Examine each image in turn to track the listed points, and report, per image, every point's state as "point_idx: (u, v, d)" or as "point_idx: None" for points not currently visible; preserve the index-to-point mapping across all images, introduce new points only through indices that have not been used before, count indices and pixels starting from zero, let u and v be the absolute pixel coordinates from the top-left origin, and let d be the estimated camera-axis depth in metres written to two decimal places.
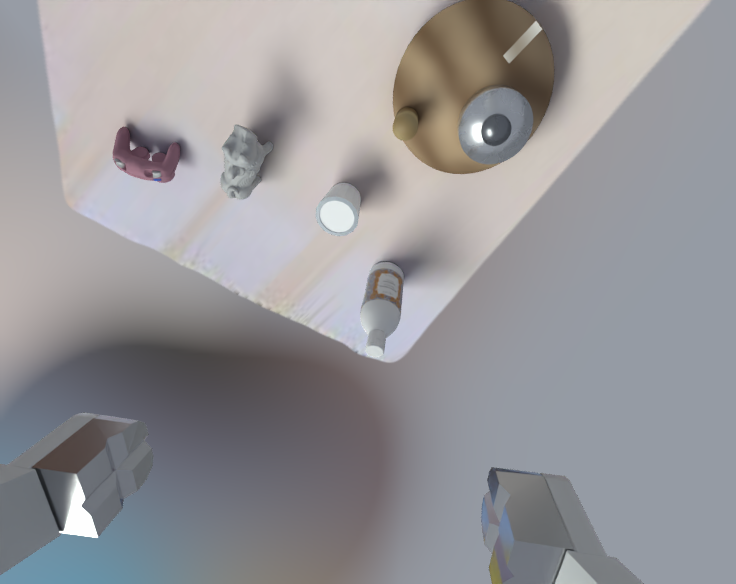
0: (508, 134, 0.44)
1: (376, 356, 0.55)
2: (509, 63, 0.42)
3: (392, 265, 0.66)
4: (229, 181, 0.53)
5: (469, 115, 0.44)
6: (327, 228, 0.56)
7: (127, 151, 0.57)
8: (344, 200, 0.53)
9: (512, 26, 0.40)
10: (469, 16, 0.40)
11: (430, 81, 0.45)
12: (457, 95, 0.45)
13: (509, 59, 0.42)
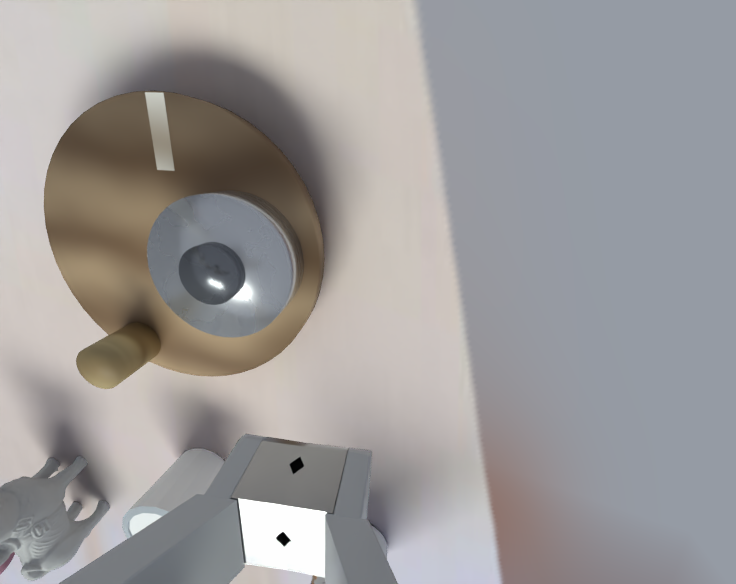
0: (229, 265, 0.20)
1: None
2: (174, 170, 0.22)
3: None
4: (21, 558, 0.34)
5: (163, 283, 0.22)
6: None
7: None
8: (144, 508, 0.29)
9: (128, 127, 0.22)
10: (74, 167, 0.23)
11: (116, 275, 0.26)
12: None
13: (169, 165, 0.22)
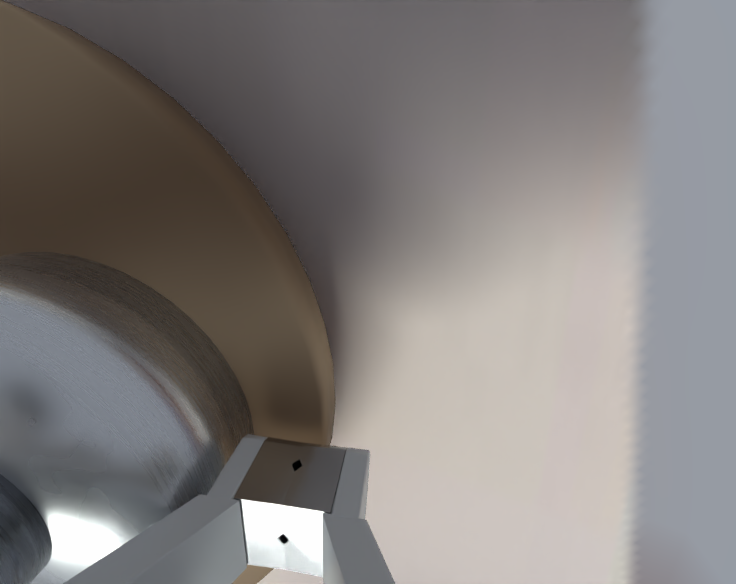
0: None
1: None
2: None
3: None
4: None
5: None
6: None
7: None
8: None
9: None
10: None
11: None
12: None
13: None
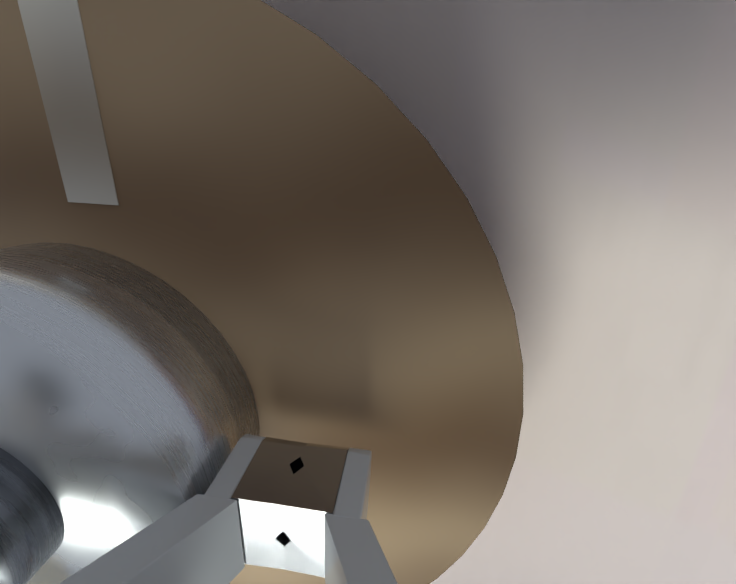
0: None
1: None
2: (118, 204, 0.08)
3: None
4: None
5: None
6: None
7: None
8: None
9: None
10: None
11: None
12: None
13: (101, 191, 0.07)
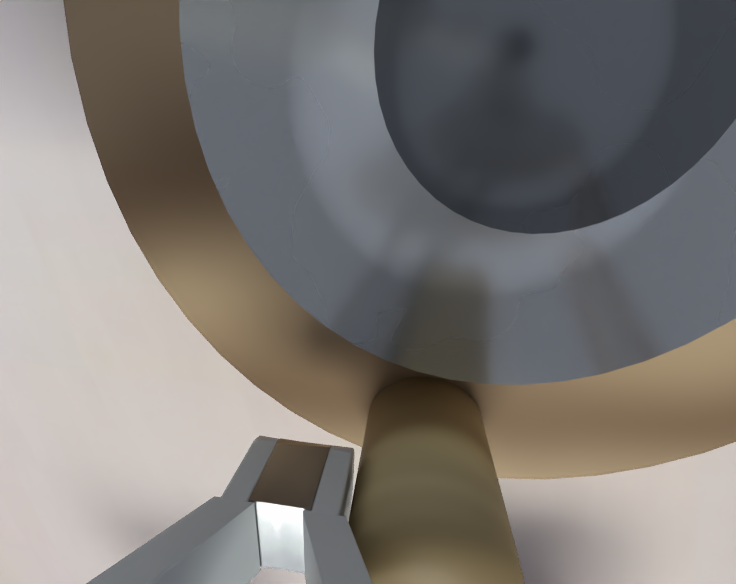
0: None
1: None
2: None
3: None
4: None
5: (285, 231, 0.05)
6: None
7: None
8: None
9: None
10: None
11: None
12: None
13: None
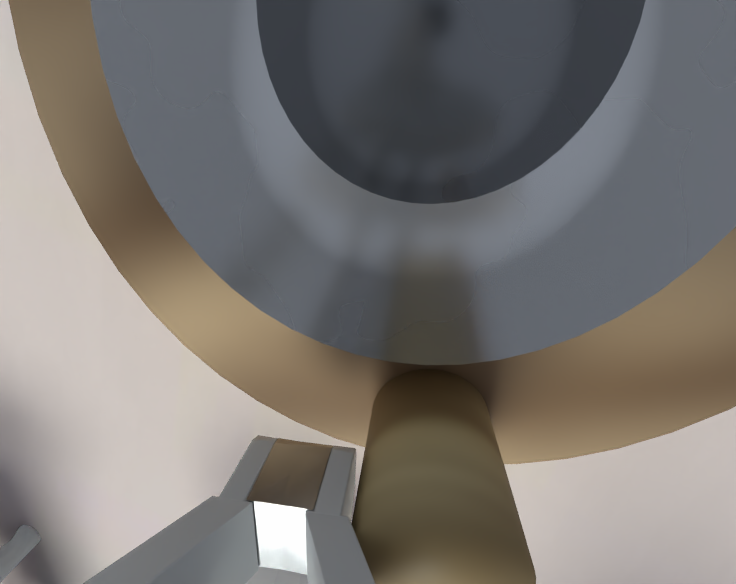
0: None
1: None
2: None
3: None
4: None
5: (235, 241, 0.05)
6: None
7: None
8: None
9: None
10: None
11: None
12: None
13: None
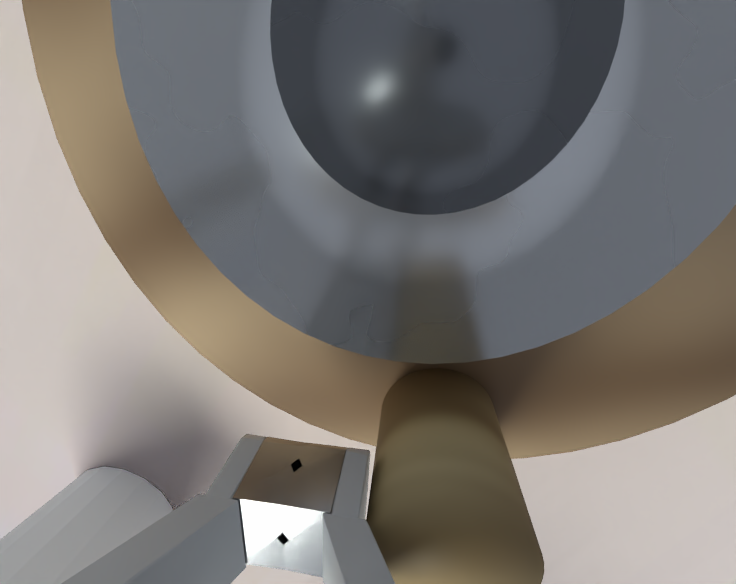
0: None
1: None
2: None
3: None
4: None
5: (250, 253, 0.06)
6: None
7: None
8: None
9: None
10: (87, 5, 0.08)
11: None
12: None
13: None
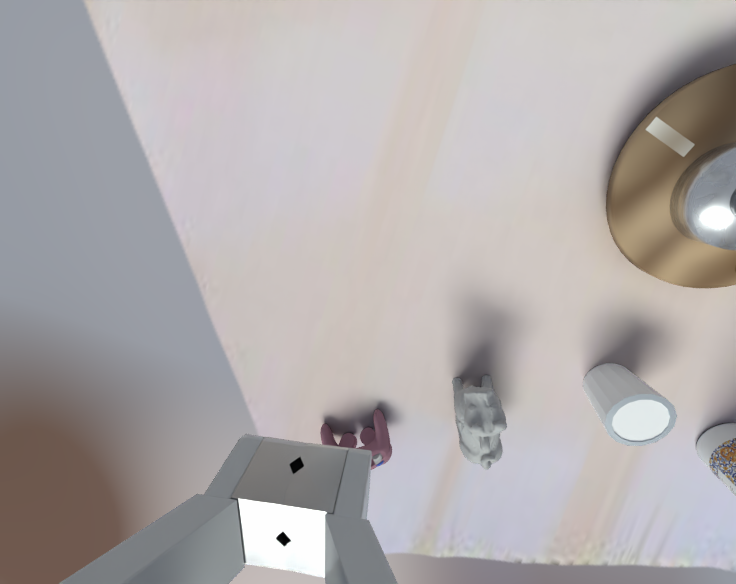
0: None
1: None
2: (694, 144, 0.31)
3: (731, 426, 0.43)
4: (478, 451, 0.41)
5: (724, 240, 0.31)
6: (633, 440, 0.38)
7: None
8: (641, 396, 0.36)
9: (649, 157, 0.32)
10: (633, 214, 0.34)
11: (704, 244, 0.34)
12: None
13: (689, 146, 0.31)
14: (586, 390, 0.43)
